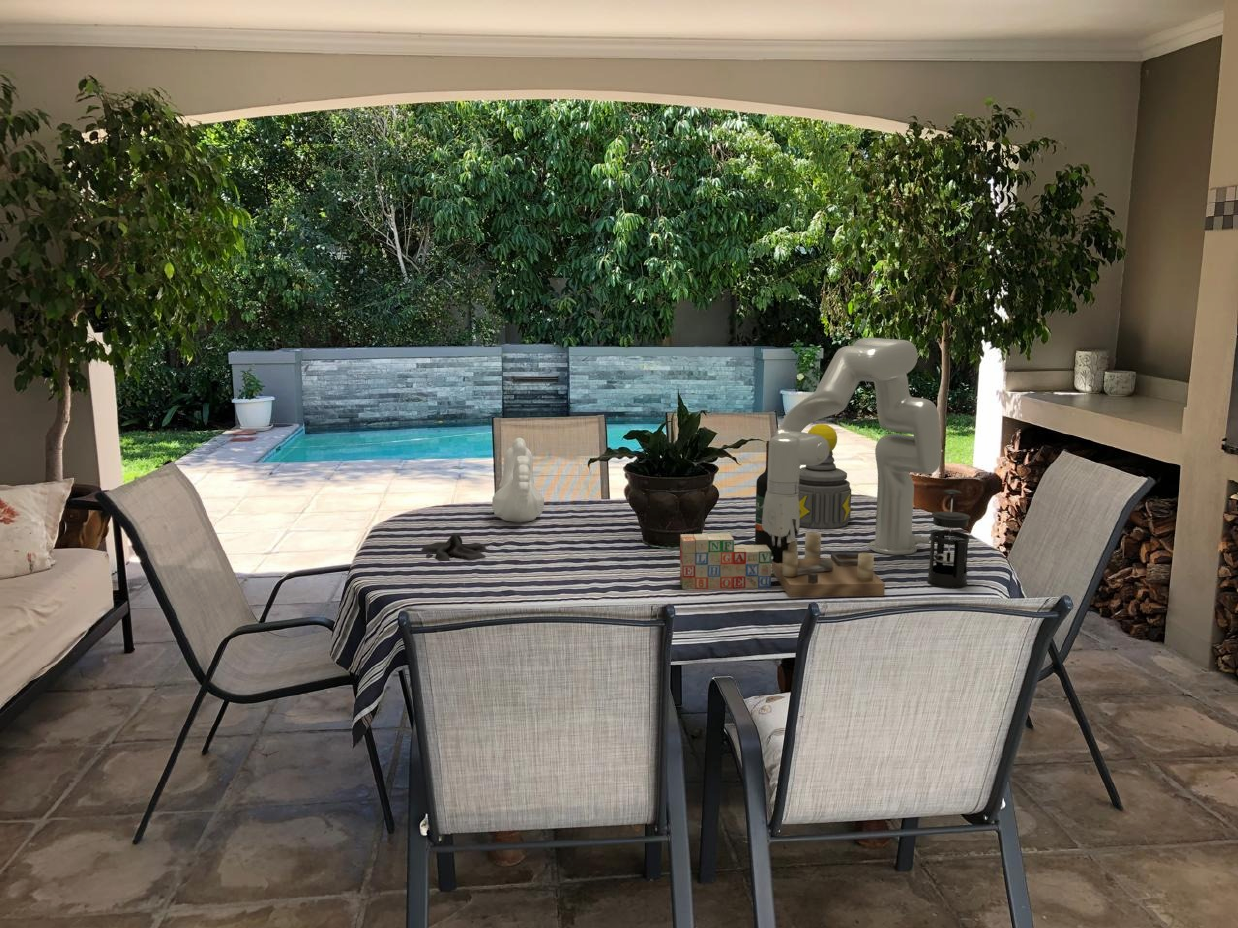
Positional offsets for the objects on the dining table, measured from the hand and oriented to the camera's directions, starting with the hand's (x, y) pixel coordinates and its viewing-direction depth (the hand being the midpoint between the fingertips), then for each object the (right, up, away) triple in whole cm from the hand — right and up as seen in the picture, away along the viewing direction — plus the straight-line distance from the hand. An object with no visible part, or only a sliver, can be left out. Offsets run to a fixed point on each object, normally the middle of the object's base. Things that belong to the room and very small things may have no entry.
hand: (780, 561), depth 256 cm
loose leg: (+11, -2, +18) cm, 22 cm away
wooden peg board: (+11, -5, +2) cm, 13 cm away
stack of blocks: (-13, -6, 0) cm, 15 cm away
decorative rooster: (-70, +6, +63) cm, 95 cm away
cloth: (-83, -1, +28) cm, 88 cm away
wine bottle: (+2, 0, +31) cm, 31 cm away
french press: (+41, -6, +1) cm, 41 cm away
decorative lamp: (+21, +6, +63) cm, 67 cm away
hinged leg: (+6, -2, -1) cm, 7 cm away
